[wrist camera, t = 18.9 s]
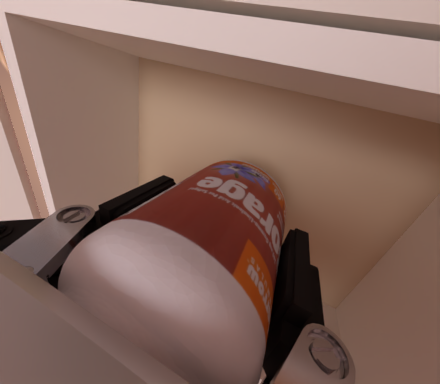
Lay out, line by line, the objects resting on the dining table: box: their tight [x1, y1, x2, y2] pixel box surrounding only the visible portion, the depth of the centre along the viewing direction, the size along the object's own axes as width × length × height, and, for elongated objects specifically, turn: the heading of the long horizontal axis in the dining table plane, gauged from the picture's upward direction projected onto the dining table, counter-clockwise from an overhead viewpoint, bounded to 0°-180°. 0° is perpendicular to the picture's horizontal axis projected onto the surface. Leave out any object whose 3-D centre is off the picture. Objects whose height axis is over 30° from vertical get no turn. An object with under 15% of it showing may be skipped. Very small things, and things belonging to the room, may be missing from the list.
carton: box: [0, 0, 440, 384], centre depth 11 cm, size 22×17×8 cm
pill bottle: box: [58, 160, 287, 384], centre depth 7 cm, size 6×6×11 cm
